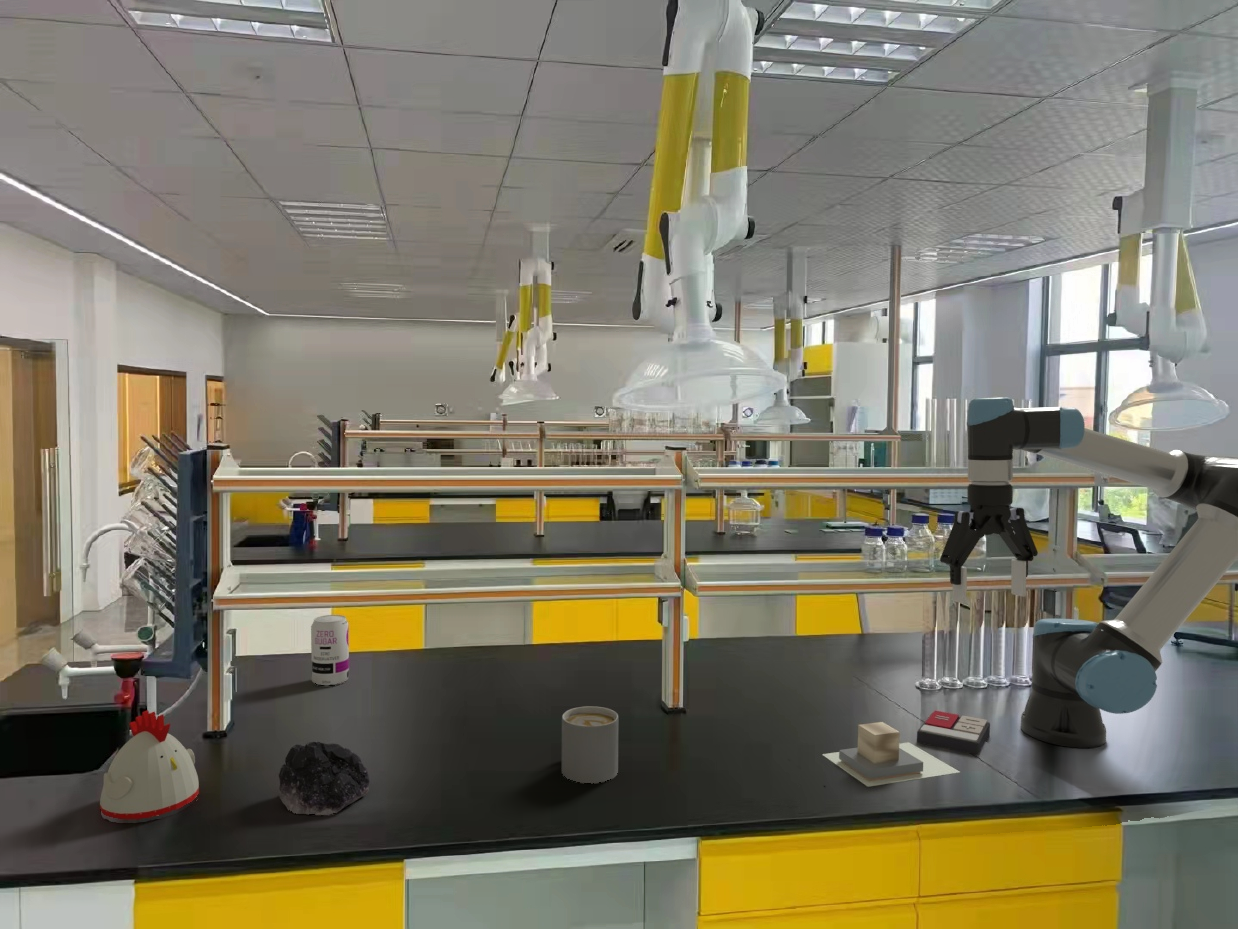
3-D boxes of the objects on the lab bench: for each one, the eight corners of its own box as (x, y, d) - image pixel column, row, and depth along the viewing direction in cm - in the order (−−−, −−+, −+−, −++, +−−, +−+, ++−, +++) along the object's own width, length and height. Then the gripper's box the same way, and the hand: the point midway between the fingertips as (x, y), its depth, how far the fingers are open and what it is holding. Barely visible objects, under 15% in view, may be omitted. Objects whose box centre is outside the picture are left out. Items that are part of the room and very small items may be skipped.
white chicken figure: (141, 831, 126) (139, 733, 125) (79, 814, 131) (76, 719, 130) (218, 793, 138) (216, 704, 138) (158, 778, 144) (157, 692, 143)
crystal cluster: (384, 803, 137) (385, 741, 138) (306, 825, 127) (308, 758, 128) (340, 785, 146) (342, 727, 147) (264, 805, 136) (266, 742, 136)
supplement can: (344, 674, 202) (343, 612, 201) (352, 684, 195) (352, 620, 194) (308, 679, 198) (308, 616, 197) (316, 689, 191) (315, 624, 190)
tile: (890, 743, 154) (839, 750, 151) (923, 762, 146) (869, 770, 142) (890, 753, 154) (838, 761, 151) (923, 773, 146) (869, 781, 142)
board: (908, 748, 160) (908, 742, 160) (960, 778, 146) (960, 772, 146) (821, 760, 154) (821, 754, 154) (867, 793, 140) (867, 786, 140)
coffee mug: (621, 782, 144) (621, 725, 143) (563, 785, 143) (563, 727, 142) (612, 751, 157) (612, 699, 156) (559, 753, 156) (559, 700, 155)
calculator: (990, 718, 167) (978, 739, 154) (989, 740, 167) (977, 762, 154) (932, 708, 173) (916, 727, 160) (931, 729, 173) (915, 749, 160)
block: (881, 749, 151) (882, 722, 151) (898, 760, 146) (899, 732, 146) (857, 752, 150) (858, 724, 149) (874, 763, 145) (875, 735, 145)
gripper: (1026, 478, 160) (1026, 588, 161) (919, 484, 152) (919, 601, 153) (1059, 481, 153) (1058, 596, 154) (948, 487, 144) (948, 609, 146)
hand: (989, 598), depth 153 cm, fingers open, 13 cm apart
